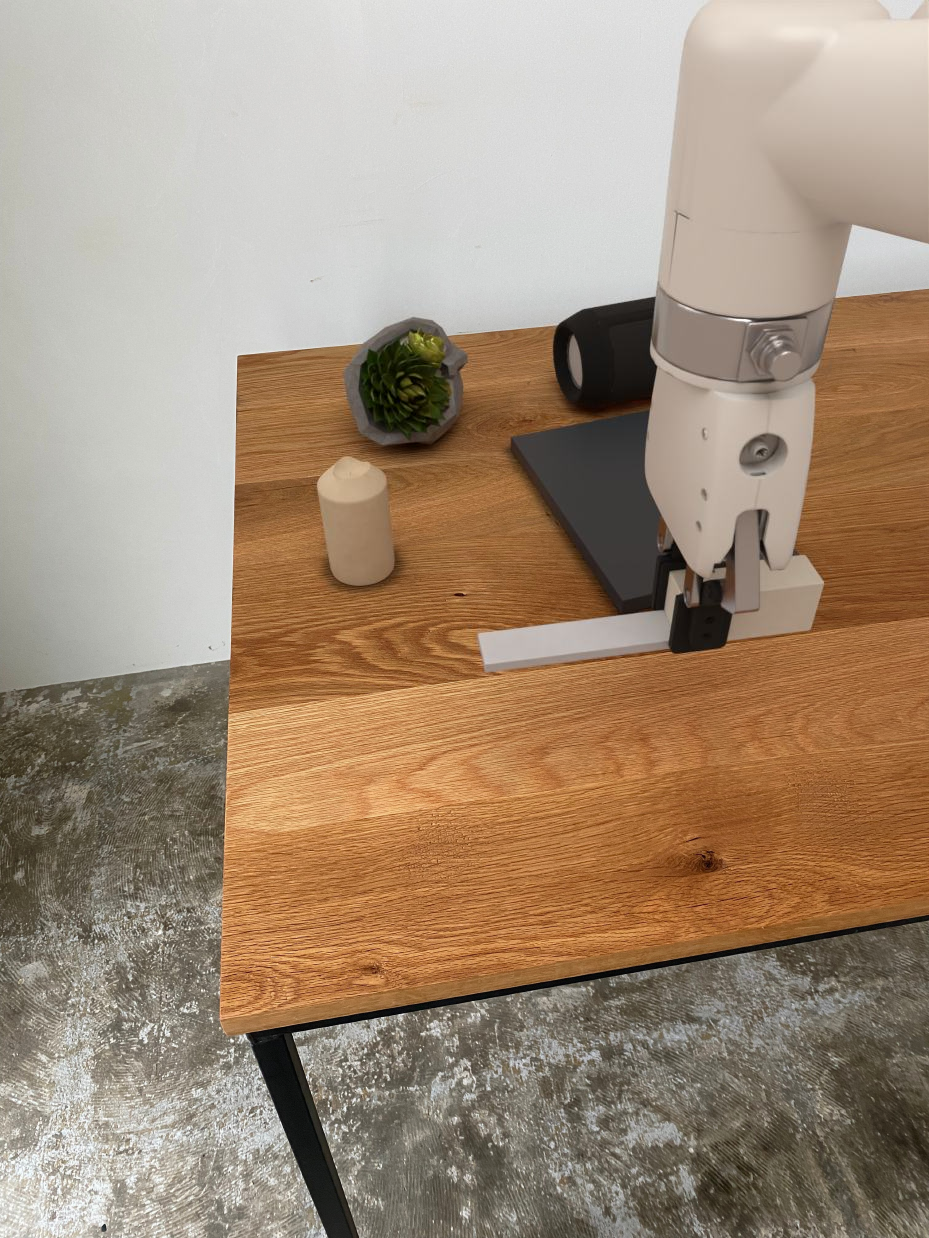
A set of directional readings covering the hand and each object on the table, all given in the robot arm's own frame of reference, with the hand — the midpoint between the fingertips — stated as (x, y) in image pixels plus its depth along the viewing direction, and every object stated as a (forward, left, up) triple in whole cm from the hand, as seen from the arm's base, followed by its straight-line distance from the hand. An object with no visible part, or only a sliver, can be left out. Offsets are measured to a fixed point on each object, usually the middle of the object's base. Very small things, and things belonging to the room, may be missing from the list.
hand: (687, 625), depth 54 cm
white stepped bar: (+2, 0, 0) cm, 2 cm away
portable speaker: (-25, -47, -13) cm, 55 cm away
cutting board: (-12, -28, -13) cm, 33 cm away
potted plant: (+4, -47, -13) cm, 49 cm away
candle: (+14, -28, -13) cm, 34 cm away
